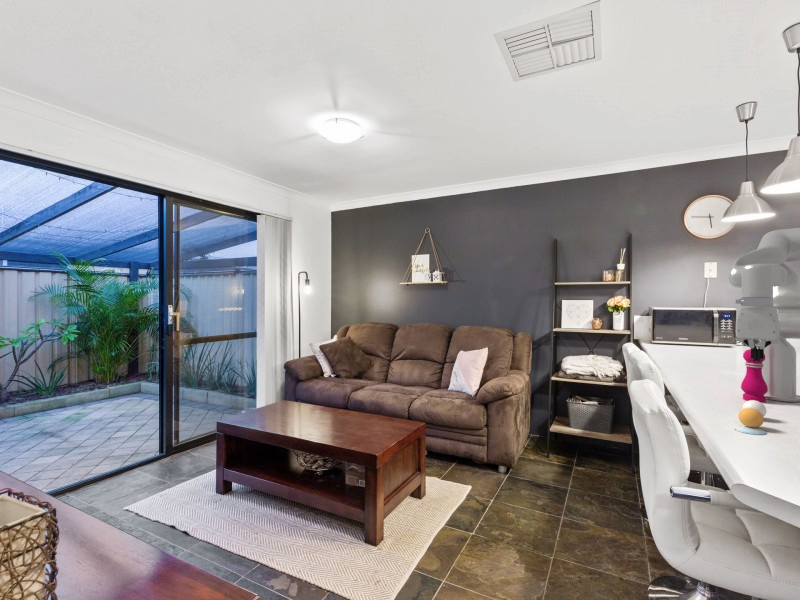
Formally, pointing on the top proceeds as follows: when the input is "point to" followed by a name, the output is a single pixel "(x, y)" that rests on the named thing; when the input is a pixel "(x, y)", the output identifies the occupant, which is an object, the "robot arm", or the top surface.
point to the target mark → (752, 431)
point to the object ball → (751, 417)
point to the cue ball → (755, 406)
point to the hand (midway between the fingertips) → (757, 360)
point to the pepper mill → (753, 379)
